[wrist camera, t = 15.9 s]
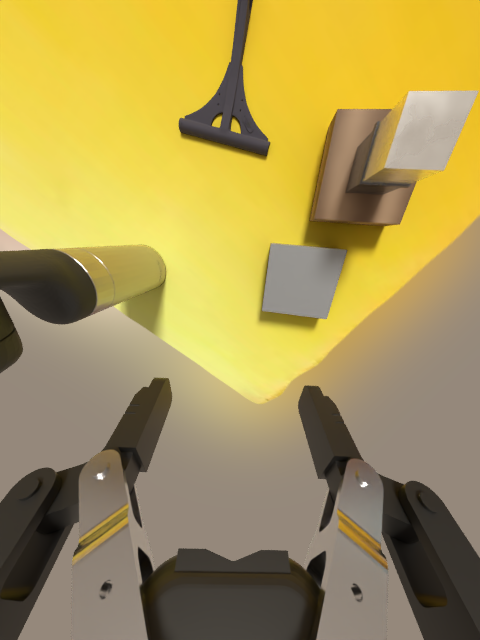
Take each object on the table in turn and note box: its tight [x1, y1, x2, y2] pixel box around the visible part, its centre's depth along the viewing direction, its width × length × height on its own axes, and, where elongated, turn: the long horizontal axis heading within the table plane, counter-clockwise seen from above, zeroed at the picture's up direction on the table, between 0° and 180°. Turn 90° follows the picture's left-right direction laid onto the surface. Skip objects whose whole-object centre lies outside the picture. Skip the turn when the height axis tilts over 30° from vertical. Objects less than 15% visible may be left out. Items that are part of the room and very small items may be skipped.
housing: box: [345, 91, 478, 195], centre depth 20 cm, size 5×5×10 cm
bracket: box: [179, 0, 270, 156], centre depth 25 cm, size 14×15×3 cm
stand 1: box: [262, 243, 347, 319], centre depth 34 cm, size 12×12×4 cm
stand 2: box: [310, 109, 417, 226], centre depth 26 cm, size 12×12×4 cm
